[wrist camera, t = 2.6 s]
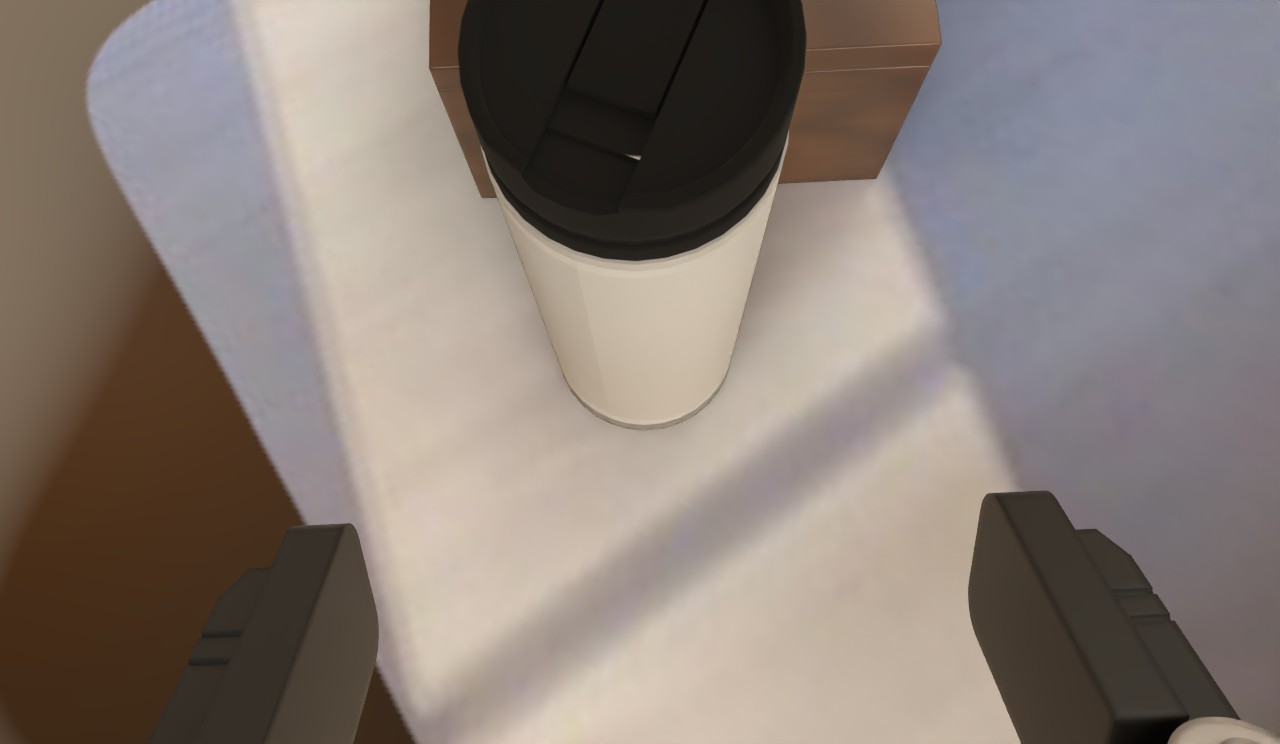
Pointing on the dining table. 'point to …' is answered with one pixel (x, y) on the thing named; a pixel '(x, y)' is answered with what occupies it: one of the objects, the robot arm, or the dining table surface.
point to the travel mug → (636, 178)
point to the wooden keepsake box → (828, 96)
